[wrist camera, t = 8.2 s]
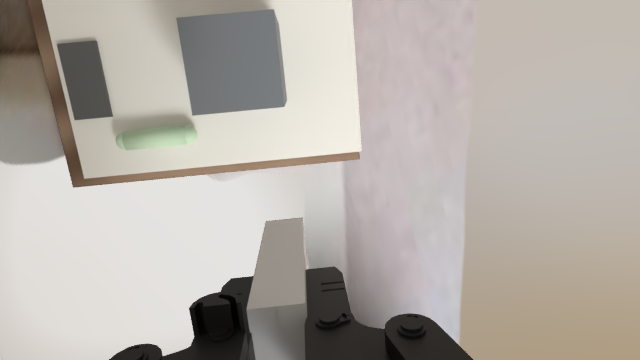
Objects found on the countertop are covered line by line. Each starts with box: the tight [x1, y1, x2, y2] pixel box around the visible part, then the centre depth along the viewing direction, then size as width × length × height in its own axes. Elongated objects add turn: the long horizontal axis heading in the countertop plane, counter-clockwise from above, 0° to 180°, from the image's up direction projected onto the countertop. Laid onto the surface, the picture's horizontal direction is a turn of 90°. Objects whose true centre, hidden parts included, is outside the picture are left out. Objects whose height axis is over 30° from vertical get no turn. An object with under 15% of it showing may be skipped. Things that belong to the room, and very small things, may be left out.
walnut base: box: [27, 0, 360, 187], centre depth 37 cm, size 18×26×3 cm
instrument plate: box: [42, 0, 362, 179], centre depth 31 cm, size 16×24×9 cm, turn 95°
